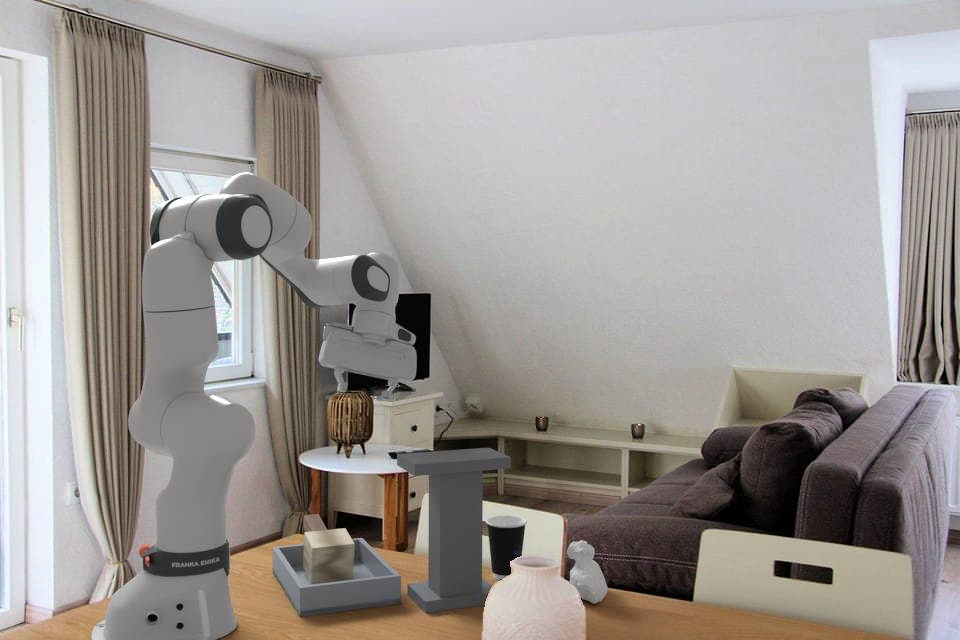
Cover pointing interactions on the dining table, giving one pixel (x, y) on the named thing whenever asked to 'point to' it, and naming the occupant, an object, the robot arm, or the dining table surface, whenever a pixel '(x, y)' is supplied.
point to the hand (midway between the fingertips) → (363, 395)
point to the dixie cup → (505, 542)
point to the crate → (337, 582)
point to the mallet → (326, 551)
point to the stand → (453, 525)
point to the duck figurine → (586, 572)
